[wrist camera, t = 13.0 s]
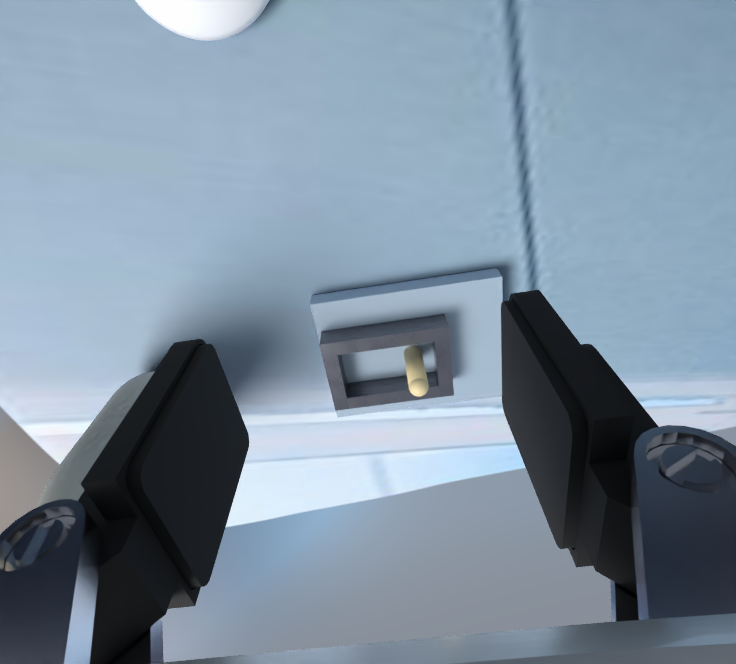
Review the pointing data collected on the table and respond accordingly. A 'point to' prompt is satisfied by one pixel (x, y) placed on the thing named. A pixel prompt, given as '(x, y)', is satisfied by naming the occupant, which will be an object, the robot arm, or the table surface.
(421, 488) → the table surface
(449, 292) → the board
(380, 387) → the steel link
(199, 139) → the table surface
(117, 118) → the table surface
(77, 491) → the tall cream vase
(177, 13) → the flower in vase
